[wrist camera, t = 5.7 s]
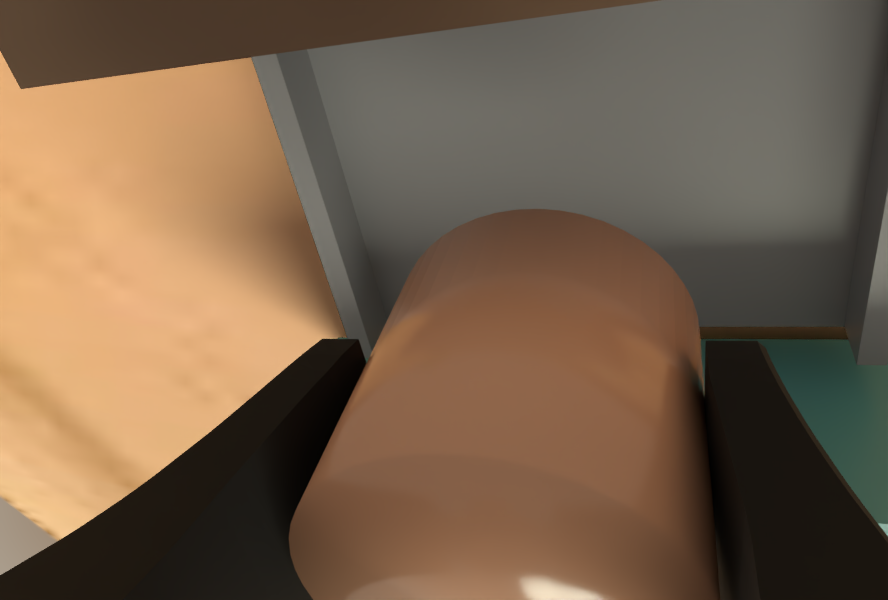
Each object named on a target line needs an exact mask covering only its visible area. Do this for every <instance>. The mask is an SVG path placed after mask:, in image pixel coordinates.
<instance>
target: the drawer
mask: <svg viewBox="0 0 888 600" xmlns="http://www.w3.org/2000/svg"><path fill="white" fill-rule="evenodd" d="M251 58H252V61H253V64H254V67H255V70H256V73H257V75H258V78H259V81H260V84H261V87H262V90H263V93H264V96H265V99H266V102H267V105H268V108H269V110H270V113H271V116H272V119H273V122H274V125H275V128H276V131H277V134H278V137H279V140H280V143H281V145H282V148H283V151H284V154H285V157H286V160H287V163H288V166H289V169H290V172H291V175H292V178H293V180H294V183H295V186H296V189H297V192H298V195H299V198H300V201H301V204H302V207H303V210H304V213H305V215H306V218H307V221H308V224H309V227H310V230H311V233H312V236H313V239H314V242H315V245H316V248H317V250H318V253H319V256H320V259H321V262H322V265H323V268H324V271H325V274H326V277H327V280H328V283H329V286H330V288H331V291H332V294H333V297H334V300H335V303H336V306H337V309H338V312H339V315H340V318H341V321H342V323H343V326H344V329H345V332H346V335H347V338H338V339H359V342H360V345H361V348H362V351H363V354H364V357H365V360H366V363H367V361H368V359H369V357H370V355H371V353H372V351H373V349H374V347H375V345H376V342H377V340H378V338H379V336H380V334H381V332H382V330H383V328H384V326H385V324H386V322H387V320H388V318H389V315H390V313H391V311H392V309H393V307H394V305H395V303H396V301H397V299H398V297H399V295H400V293H401V291H402V288H403V286H404V284H405V282H406V280H407V278H408V276H409V274H410V272H411V270H412V269H413V267H414V266H415V264H416V262H417V261H418V259H419V258H420V257H421V256H422V255H423V254H424V252H425V251H426V250H427V249H428V248H429V247H430V246H431V245H432V244H433V243H435V242H436V241H437V240H438V239H439V238H441V237H442V236H443V235H445V234H446V233H448V232H450V231H451V230H453V229H454V228H456V227H458V226H460V225H462V224H465V223H467V222H469V221H471V220H474V219H476V218H479V217H483V216H486V215H490V214H493V213H498V212H504V211H510V210H519V209H548V210H561V211H566V212H571V213H576V214H582V215H585V216H588V217H591V218H595V219H598V220H601V221H604V222H606V223H609V224H611V225H613V226H615V227H618V228H620V229H622V230H624V231H626V232H628V233H629V234H631V235H633V236H634V237H636V238H638V239H639V240H641V241H643V242H644V243H645V244H646V245H648V246H649V247H650V248H652V249H653V250H654V251H655V252H657V253H658V254H659V255H660V256H661V257H662V258H663V259H664V260H665V261H666V262H667V263H668V264H669V265H670V266H671V267H672V268H673V269H674V271H675V272H676V274H677V275H678V276H679V278H680V279H681V280H682V282H683V283H684V285H685V287H686V289H687V290H688V292H689V294H690V296H691V298H692V300H693V303H694V306H695V309H696V313H697V316H698V321H699V327H845V330H846V333H847V337H848V340H847V339H701V351H702V365H703V378H704V391H705V346H706V340H714V341H758V342H759V343H761V344H762V345H763V346H764V347H765V348H766V349H767V352H768V354H769V356H770V358H771V361H772V363H773V365H774V367H775V369H776V371H777V373H778V374H779V376H780V378H781V380H782V382H783V384H784V386H785V387H786V389H787V391H788V393H789V394H790V396H791V398H792V400H793V401H794V403H795V405H796V406H797V408H798V409H799V411H800V413H801V414H802V416H803V418H804V419H805V421H806V423H807V424H808V426H809V427H810V429H811V430H812V432H813V434H814V435H815V437H816V438H817V440H818V441H819V443H820V444H821V445H822V447H823V448H824V450H825V451H826V453H827V454H828V456H829V457H830V459H831V460H832V461H833V463H834V464H835V466H836V467H837V469H838V470H839V472H840V473H841V475H842V476H843V477H844V479H845V480H846V482H847V483H848V485H849V486H850V487H851V489H852V490H853V491H854V493H855V494H856V495H857V497H858V498H859V499H860V501H861V502H862V504H863V505H864V506H865V508H866V509H867V510H868V511H869V513H870V514H871V515H872V517H873V518H874V519H875V520H876V522H877V523H878V524H879V526H880V527H881V528H882V529H883V531H884V532H885V533H886V535H887V536H888V0H660V1H653V2H646V3H639V4H632V5H624V6H617V7H610V8H603V9H595V10H588V11H581V12H574V13H567V14H559V15H552V16H545V17H538V18H530V19H523V20H516V21H509V22H501V23H494V24H487V25H480V26H473V27H465V28H458V29H451V30H444V31H436V32H429V33H422V34H415V35H408V36H400V37H393V38H386V39H379V40H371V41H364V42H357V43H350V44H342V45H335V46H328V47H321V48H314V49H306V50H299V51H292V52H285V53H277V54H270V55H263V56H256V57H251Z"/></svg>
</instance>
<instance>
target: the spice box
mask: <svg viewBox="0 0 888 600" xmlns="http://www.w3.org/2000/svg"><path fill="white" fill-rule="evenodd" d="M653 1H660V0H0V51H1V53H2V55H3V57H4V58H5V60H6V62H7V64H8V66H9V68H10V70H11V72H12V73H13V75H14V77H15V79H16V81H17V83H18V85H19V86H20V88H21V89H24V88H32V87H39V86H46V85H53V84H61V83H68V82H75V81H82V80H89V79H97V78H104V77H111V76H118V75H126V74H133V73H140V72H147V71H155V70H162V69H169V68H176V67H183V66H191V65H198V64H205V63H212V62H220V61H227V60H234V59H241V58H249V57H256V56H263V55H270V54H277V53H285V52H292V51H299V50H306V49H314V48H321V47H328V46H335V45H342V44H350V43H357V42H364V41H371V40H379V39H386V38H393V37H400V36H408V35H415V34H422V33H429V32H436V31H444V30H451V29H458V28H465V27H473V26H480V25H487V24H494V23H501V22H509V21H516V20H523V19H530V18H538V17H545V16H552V15H559V14H567V13H574V12H581V11H588V10H595V9H603V8H610V7H617V6H624V5H632V4H639V3H646V2H653Z"/></svg>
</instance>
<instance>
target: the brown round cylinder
mask: <svg viewBox="0 0 888 600" xmlns="http://www.w3.org/2000/svg"><path fill="white" fill-rule="evenodd" d="M704 396H705V391H704V378H703V365H702V351H701V338H700V329H699V321H698V316H697V313H696V309H695V306H694V303H693V300H692V298H691V296H690V294H689V292H688V290H687V289H686V287H685V285H684V283H683V282H682V280H681V279H680V278H679V276H678V275H677V274H676V272H675V271H674V269H673V268H672V267H671V266H670V265H669V264H668V263H667V262H666V261H665V260H664V259H663V258H662V257H661V256H660V255H659V254H658V253H657V252H655V251H654V250H653V249H652V248H650V247H649V246H648V245H646V244H645V243H644V242H643V241H641V240H639V239H638V238H636V237H634V236H633V235H631V234H629V233H628V232H626V231H624V230H622V229H620V228H618V227H615V226H613V225H611V224H609V223H606V222H604V221H601V220H598V219H595V218H591V217H588V216H585V215H582V214H576V213H571V212H566V211H561V210H548V209H519V210H510V211H504V212H498V213H493V214H490V215H486V216H483V217H479V218H476V219H474V220H471V221H469V222H467V223H465V224H462V225H460V226H458V227H456V228H454V229H453V230H451V231H450V232H448V233H446V234H445V235H443V236H442V237H441V238H439V239H438V240H437V241H436V242H435V243H433V244H432V245H431V246H430V247H429V248H428V249H427V250H426V251H425V252H424V254H423V255H422V256H421V257H420V258H419V259H418V261H417V262H416V264H415V266H414V267H413V269H412V270H411V272H410V274H409V276H408V278H407V280H406V282H405V284H404V286H403V288H402V291H401V293H400V295H399V297H398V299H397V301H396V303H395V305H394V307H393V309H392V311H391V313H390V315H389V318H388V320H387V322H386V324H385V326H384V328H383V330H382V332H381V334H380V336H379V338H378V340H377V342H376V345H375V347H374V349H373V351H372V353H371V355H370V357H369V359H368V361H367V363H366V365H365V367H364V369H363V371H362V374H361V376H360V378H359V380H358V382H357V384H356V386H355V388H354V390H353V392H352V394H351V396H350V398H349V401H348V403H347V405H346V407H345V409H344V411H343V413H342V415H341V417H340V419H339V421H338V423H337V425H336V428H335V430H334V432H333V434H332V436H331V438H330V440H329V442H328V444H327V446H326V448H325V450H324V452H323V455H322V457H321V459H320V461H319V463H318V465H317V467H316V469H315V471H314V473H313V475H312V477H311V479H310V481H309V484H308V486H307V488H306V490H305V492H304V494H303V496H302V498H301V500H300V502H299V504H298V506H297V508H296V511H295V513H294V516H293V519H292V521H291V524H290V532H289V547H290V555H291V558H292V561H293V564H294V568H295V570H296V572H297V574H298V576H299V578H300V580H301V582H302V584H303V586H304V587H305V589H306V590H307V591H308V593H309V594H310V596H311V597H312V599H313V600H720V590H719V577H718V563H717V550H716V537H715V524H714V510H713V497H712V484H711V473H710V464H709V454H708V441H707V427H706V412H705V398H704Z"/></svg>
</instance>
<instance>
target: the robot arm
mask: <svg viewBox="0 0 888 600" xmlns="http://www.w3.org/2000/svg"><path fill="white" fill-rule="evenodd" d="M365 365H366V360H365V357H364V354H363V351H362V348H361V345H360V342H359V339H322V340H320V341H319V342H318V343H316V344H315V345H314V346H312V347H311V348H310V349H309V350H307V351H306V352H305V353H304V354H302V355H301V356H300V357H299V358H298V359H296V360H295V361H294V362H293V363H292V364H290V365H289V366H288V367H287V368H286V369H284V370H283V371H282V372H281V373H280V374H279V375H277V376H276V377H275V378H274V379H273V380H272V381H270V382H269V383H268V384H267V385H266V386H265V387H263V388H262V389H261V390H260V391H259V392H258V393H256V394H255V395H254V396H253V397H252V398H250V399H249V400H248V401H247V402H246V403H244V404H243V405H242V406H241V407H240V408H239V409H237V410H236V411H235V412H234V413H233V414H231V415H230V416H229V417H228V418H227V419H225V420H224V421H223V422H222V423H221V424H219V425H218V426H217V427H216V428H215V429H213V430H212V431H211V432H210V433H209V434H207V435H206V436H205V437H203V438H202V439H201V440H200V441H198V442H197V443H196V444H194V445H193V446H192V447H191V448H189V449H188V450H187V451H185V452H184V453H183V454H182V455H180V456H179V457H178V458H176V459H175V460H174V461H173V462H171V463H170V464H169V465H167V466H166V467H165V468H164V469H162V470H161V471H160V472H159V473H157V474H156V475H155V476H153V477H152V478H151V479H149V480H148V481H147V482H145V483H144V484H143V485H141V486H140V487H138V488H137V489H136V490H134V491H133V492H131V493H130V494H129V495H127V496H126V497H124V498H123V499H122V500H120V501H119V502H117V503H116V504H114V505H113V506H111V507H110V508H108V509H107V510H105V511H104V512H102V513H101V514H99V515H98V516H96V517H95V518H93V519H92V520H90V521H89V522H87V523H86V524H84V525H83V526H81V527H80V528H78V529H77V530H75V531H74V532H72V533H70V534H69V535H67V536H66V537H64V538H63V539H61V540H59V541H58V542H56V543H54V544H53V545H51V546H49V547H47V548H46V549H44V550H42V551H41V552H39V553H37V554H36V555H34V556H32V557H31V558H29V559H27V560H25V561H24V562H22V563H21V564H19V565H17V566H15V567H14V568H12V569H10V570H9V571H7V572H5V573H4V574H2V575H0V600H313V599H312V597H311V596H310V594H309V593H308V591H307V590H306V589H305V587H304V586H303V584H302V582H301V580H300V578H299V576H298V574H297V572H296V570H295V568H294V564H293V561H292V558H291V555H290V547H289V532H290V524H291V521H292V519H293V516H294V513H295V511H296V508H297V506H298V504H299V502H300V500H301V498H302V496H303V494H304V492H305V490H306V488H307V486H308V484H309V481H310V479H311V477H312V475H313V473H314V471H315V469H316V467H317V465H318V463H319V461H320V459H321V457H322V455H323V452H324V450H325V448H326V446H327V444H328V442H329V440H330V438H331V436H332V434H333V432H334V430H335V428H336V425H337V423H338V421H339V419H340V417H341V415H342V413H343V411H344V409H345V407H346V405H347V403H348V401H349V398H350V396H351V394H352V392H353V390H354V388H355V386H356V384H357V382H358V380H359V378H360V376H361V374H362V371H363V369H364V367H365ZM704 398H705V412H706V427H707V441H708V454H709V464H710V473H711V484H712V497H713V510H714V524H715V537H716V550H717V563H718V577H719V590H720V600H888V536H887V535H886V533H885V532H884V531H883V529H882V528H881V527H880V526H879V524H878V523H877V522H876V520H875V519H874V518H873V517H872V515H871V514H870V513H869V511H868V510H867V509H866V508H865V506H864V505H863V504H862V502H861V501H860V499H859V498H858V497H857V495H856V494H855V493H854V491H853V490H852V489H851V487H850V486H849V485H848V483H847V482H846V480H845V479H844V477H843V476H842V475H841V473H840V472H839V470H838V469H837V467H836V466H835V464H834V463H833V461H832V460H831V459H830V457H829V456H828V454H827V453H826V451H825V450H824V448H823V447H822V445H821V444H820V443H819V441H818V440H817V438H816V437H815V435H814V434H813V432H812V430H811V429H810V427H809V426H808V424H807V423H806V421H805V419H804V418H803V416H802V414H801V413H800V411H799V409H798V408H797V406H796V405H795V403H794V401H793V400H792V398H791V396H790V394H789V393H788V391H787V389H786V387H785V386H784V384H783V382H782V380H781V378H780V376H779V374H778V373H777V371H776V369H775V367H774V365H773V363H772V361H771V358H770V356H769V354H768V352H767V349H766V348H765V347H764V346H763V345H762V344H761V343H759V342H758V341H714V340H706V346H705V396H704Z"/></svg>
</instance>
